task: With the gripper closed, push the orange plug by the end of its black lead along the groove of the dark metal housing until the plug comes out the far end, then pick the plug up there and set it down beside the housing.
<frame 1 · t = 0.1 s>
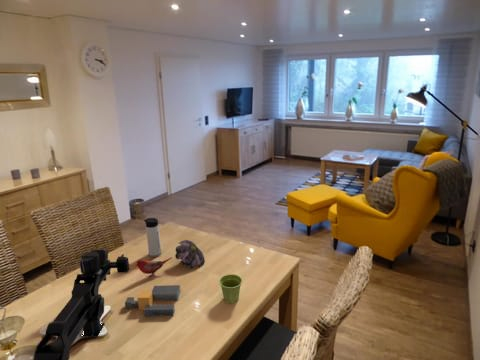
hand: (112, 255, 142), 17 cm above the table, tool horizontal, fingers open, 9 cm apart
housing: (162, 305, 135), on the table
decorative flower: (190, 263, 166), on the table
plug: (146, 305, 135), on the table
plant pot: (231, 299, 138), on the table
decorative bird figurine: (155, 275, 156), on the table
travel mug: (155, 254, 175), on the table
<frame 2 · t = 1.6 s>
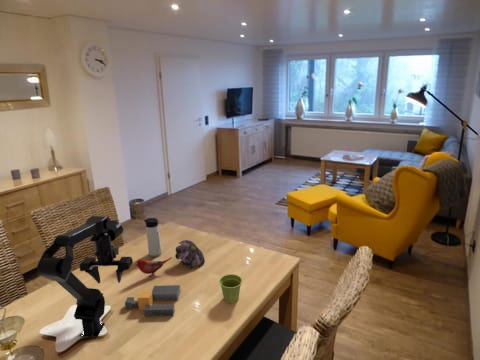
hand: (109, 282, 132), 11 cm above the table, tool pointing down, fingers open, 8 cm apart
nothing on the table moved.
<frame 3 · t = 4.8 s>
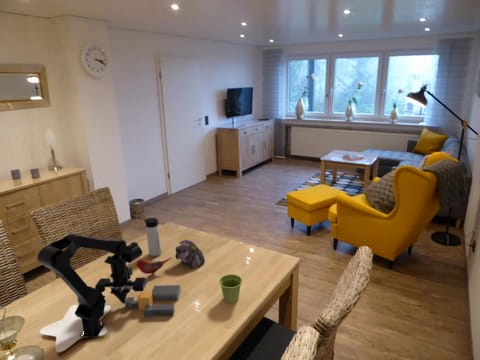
hand: (124, 302, 134), 2 cm above the table, tool pointing down, fingers closed
plug: (146, 305, 135), on the table, touching gripper
everything else where it was.
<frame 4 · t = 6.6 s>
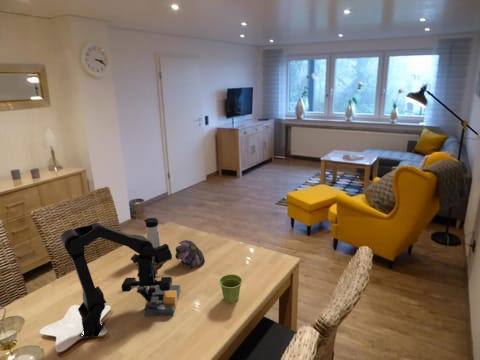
hand: (149, 302, 134), 2 cm above the table, tool pointing down, fingers closed
plug: (171, 305, 135), on the table, touching gripper
everything else where it was.
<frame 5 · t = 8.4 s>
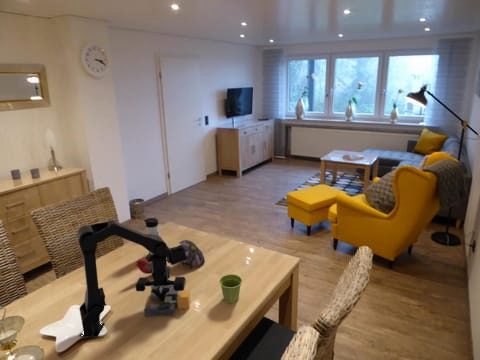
hand: (162, 302, 134), 2 cm above the table, tool pointing down, fingers closed
plug: (184, 305, 134), on the table, touching gripper
everything else where it was.
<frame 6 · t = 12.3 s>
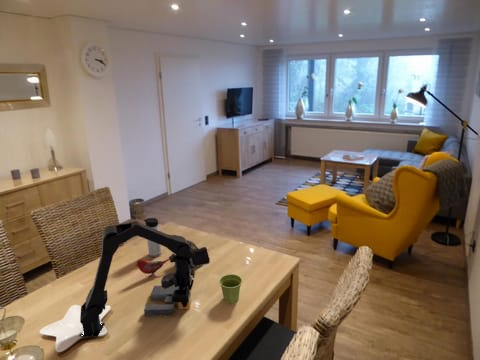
hand: (185, 303, 134), 1 cm above the table, tool pointing down, fingers closed on plug, 4 cm apart
plug: (185, 305, 135), on the table, touching gripper
everything else where it was.
when the fingers open (2 cm above the table, at t = 16.7 s): plug drops 1 cm, on the table.
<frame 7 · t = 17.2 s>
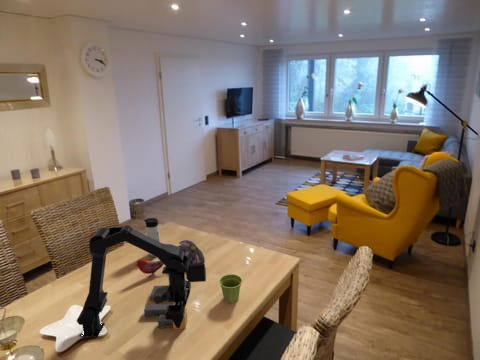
hand: (180, 318, 123), 2 cm above the table, tool pointing down, fingers open, 9 cm apart
plug: (180, 324, 124), on the table
everything else where it was.
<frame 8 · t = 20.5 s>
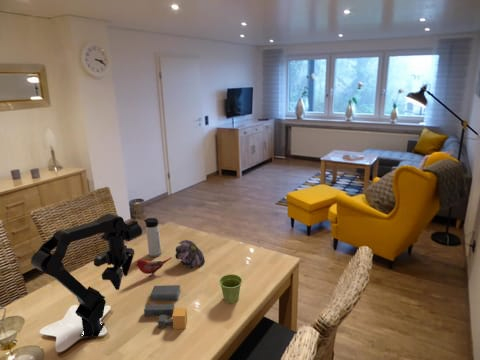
hand: (121, 282, 130), 12 cm above the table, tool pointing down, fingers open, 9 cm apart
nothing on the table moved.
at the end: plug inside the target area (0.3 cm from its centre), on the table; plug touching table; plug tilted 0° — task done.
